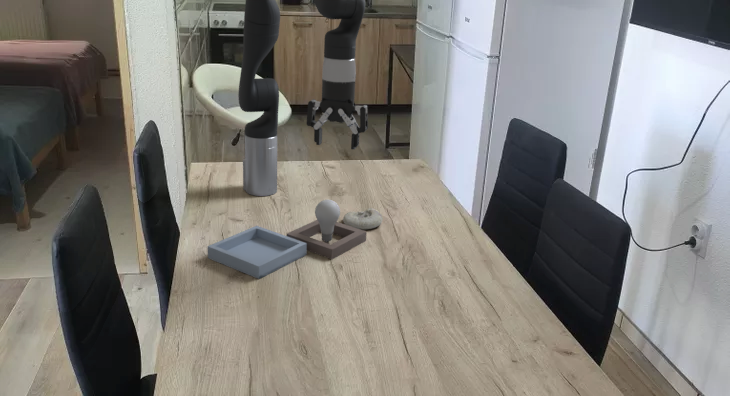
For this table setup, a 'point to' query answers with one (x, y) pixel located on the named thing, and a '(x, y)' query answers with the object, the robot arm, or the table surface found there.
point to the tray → (257, 251)
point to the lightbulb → (327, 217)
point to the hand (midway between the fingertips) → (336, 146)
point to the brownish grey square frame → (324, 249)
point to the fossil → (363, 219)
